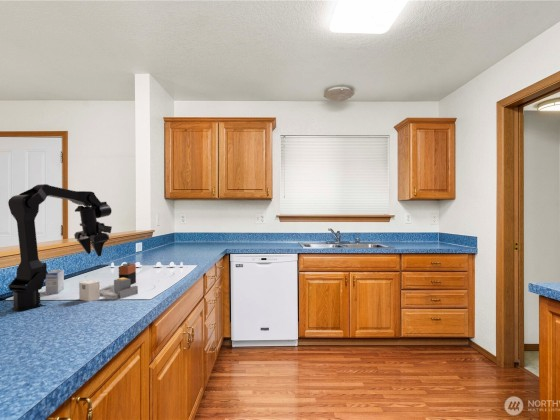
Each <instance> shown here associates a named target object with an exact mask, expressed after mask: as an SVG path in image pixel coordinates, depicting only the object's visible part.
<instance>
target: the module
mask: <svg viewBox="0 0 560 420" xmlns="http://www.w3.org/2000/svg"><path fill="white" fill-rule="evenodd" d="M78 283H79V284H78V288H79V289H78V293H79V295H78V296H79V300H80V301H85V302H93V301H96V300H99V299H100V298H101V297H100V296H101V295H100V291H99V290H100V281H97V280H91V279H89V280H85V281H80V282H78Z"/></svg>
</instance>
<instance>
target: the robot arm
mask: <svg viewBox="0 0 560 420" xmlns="http://www.w3.org/2000/svg"><path fill="white" fill-rule="evenodd" d="M47 197H50V198H54V199H55V198H56V199H62V200H68V201H70V202H71V203H73V204H75V205H78V206H77V207H76V208H75V210H74V212H77V213H78V212H79V215H80V221H81V222H80V223H79V226H80V227H81V228H82V230H80V231H76V232H74V239H75V240H76V241H77V242H78V244H80V246H81V247H82V249H84V251H85V252H86V254H87V255H89V254H90V255H91V253H92V249H91V248H93V250H94V252H95V254H96V256H97V257H101V256H102V254H103V253H102V252H103V247H104V244H106V242H108V240H110V235H109V234H112V233H111V232H112V227H113V226H109V225H105V223H104V222H103V223H102V222H100V221H98V220H97V219H100V218H105V217H108V216H110V215H111V214H112V208H111V207H110V205H109V204H108V202H107V201H101V200H100V199H99V198H98V197H97V195H96V194H95V192H94V191H90V190H89V191H85V190H83V191H80V190H78V191H76V190H71V189H67V188H63V187H57V186H54V185H50V184H48V183H47V184H46V183H45V184H36V185H34V186H33V187H32V188H29V189H28V190H25V191H23V192H21V193H19V194H18V195H17V194H16V195H13V196H11V197H10V199H8V201H7V203H8V208H9V210H10V214H11V216H12V217H13V218H14V219H15V221H16V225H17V236H18V245H19V254H20V255H19V256H20V262H19V264H18V267H17V268H16V275H15V276H16V277H15V278H14V279H13V280H12V281H11V282H10V283H9V284H8V286H7V287H8V289H9V291H10V292H12V297H13V299H12V300H13V303H12V304H13V306H11V308H10V309H12V310H13V311H17V312H23V311H27V310H31V309H35V308H38V307H41V306H42V304H41V292H40V291H39V290H42V289H43V286H44V281H46V280H45V279H46V274H48V272H49V271H48V270H47V269H48V268H47V267H48V266H47V262H41V260H40V259H39V251H38V243H37V233H36V232H37V231H36V221H35V219H36V217H37V215H38V213H39V211H40V209H39V208H40V205H41V204H42V203H44V202H45V200H46V199H47ZM91 246H92V247H91Z"/></svg>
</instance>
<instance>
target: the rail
mask: <svg viewBox="0 0 560 420" xmlns="http://www.w3.org/2000/svg"><path fill="white" fill-rule="evenodd" d="M138 290H139V286H138V285H133V286H131V287H129V288H125V289H121V290H117V291H118V293H114V284H113V285H111V284H110V285H108V289H105V290H104V289H103V290H102V289H99V291H100V296H104V297H110V298H115V299H119V300H121V299H124V298H128V297H132V296H134V295H138V294H139V291H138Z"/></svg>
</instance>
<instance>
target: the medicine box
mask: <svg viewBox="0 0 560 420" xmlns="http://www.w3.org/2000/svg"><path fill="white" fill-rule="evenodd" d="M47 272H48V274H46V279H45V280H44V281H45V295H46V294H49V295H56V294H60V292H62V291H63V290H64V288H65V281H64V279H65V278H64V277H65V273H64V272H65V271H64V269H52V270H49V271H47Z"/></svg>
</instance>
